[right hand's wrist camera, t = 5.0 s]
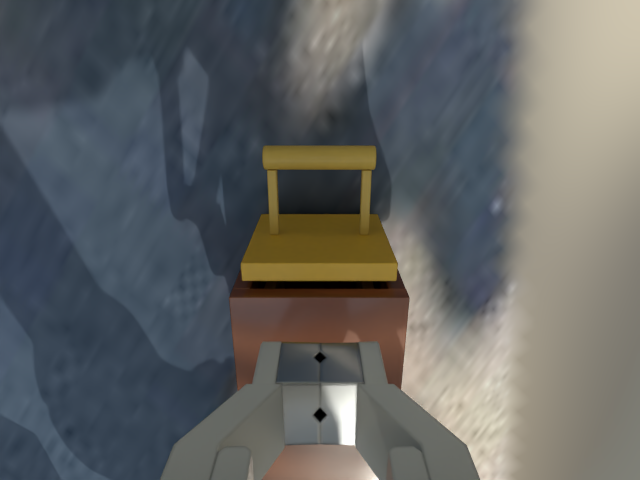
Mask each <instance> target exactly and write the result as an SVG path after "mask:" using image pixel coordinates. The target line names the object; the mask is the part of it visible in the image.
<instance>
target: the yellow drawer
mask: <svg viewBox="0 0 640 480" xmlns="http://www.w3.org/2000/svg"><path fill="white" fill-rule="evenodd" d="M262 159H263V167H264V169H265V170H267V179H268V200H269V214H261V216H260V219H259V221H258V223H257V226H256V228H255V231H254V233H253V235H252V238H251V240H250V243H249V245H248V247H247V250H246V252H245V255H244V257H243V259H242V262H241V274H242V281H266V284H265V287H264V289H374V285H373V281H396V280H397V268H398V263H397V261H396V258H395V256H394V253H393V251H392V248H391V246H390V244H389V241H388V239H387V236H386V234H385V231H384V229H383V227H382V224H381V222H380V219H379V217H378V215H377V214H370V194H371V173H372V171H371V170H373V169H375V166H376V147H375V146H264V147H263V152H262ZM277 170H362V171H361V197H360V214H279V204H278V177H277Z"/></svg>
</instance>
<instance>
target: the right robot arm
mask: <svg viewBox="0 0 640 480" xmlns="http://www.w3.org/2000/svg"><path fill="white" fill-rule="evenodd" d="M316 444H323V445H355V447H356V449H357V450H358V451H359V453H360V454H361V456H362V457H363V458H364V460H365V461H366V463H367V464H368V465H369V467H370V468H371V469H372V471H373V472H374V474H375V475H376V476H377V478H378V479H379V480H480V478H479V475H478V473H477V470H476V468H475V465H474V463H473V460H472V458H471V455H470V453H469V450H468V448H467V445H466V444H464V443H463V442H462V441H461V440H460V439H459V438H457V437H456V436H455V435H454V434H453V433H451V432H450V431H449V430H448V429H447V428H445V427H444V426H443V425H442V424H441V423H440V422H438V421H437V420H436V419H435V418H434V417H432V416H431V415H430V414H429V413H428V412H426V411H425V410H424V409H423V408H422V407H421V406H419V405H418V404H417V403H416V402H415V401H413V400H412V399H411V398H410V397H409V396H407V395H406V394H405V393H404V392H403V391H401V390H400V389H399V388H398V387H397V386H396V385H394V384H388V382H387V377H386V373H385V368H384V364H383V359H382V355H381V351H380V346H379V343H378V342H377V341H369V342H348V343H320V342H262V344H261V346H260V350H259V355H258V359H257V364H256V368H255V373H254V377H253V382H252V384H246V385H244V386H243V387H242V388H241V389H240V390H239V391H237V392H236V393H235V394H234V395H233V396H231V397H230V398H229V399H228V400H227V401H225V402H224V403H223V404H222V405H221V406H219V407H218V408H217V409H216V410H215V411H213V412H212V413H211V414H210V415H209V416H207V417H206V418H205V419H204V420H203V421H201V422H200V423H199V424H198V425H197V426H196V427H194V428H193V429H192V430H191V431H190V432H188V433H187V434H186V435H185V436H184V437H182V438H181V439H180V440H179V441H178V442H176V443H175V444H174V446H173V448H172V451H171V453H170V456H169V458H168V461H167V463H166V466H165V468H164V471H163V473H162V476H161V478H160V480H261V479H262V478H263V477H264V475H265V474H266V473H267V471H268V470H269V468H270V467H271V466H272V464H273V463H274V462H275V460H276V459H277V457H278V456H279V455H280V453H281V452H282V451H283V449H284V448H285V445H316Z"/></svg>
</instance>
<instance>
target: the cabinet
mask: <svg viewBox="0 0 640 480" xmlns="http://www.w3.org/2000/svg"><path fill="white" fill-rule="evenodd" d="M265 284H266V281H242V274H241V269H240V272H239V274H238V277H237V279H236V282H235V284H234V287H233V289H232V292H231V294H230V296H229V303H230V314H231V325H232V336H233V346H234V357H235V368H236V379H237V389H238V391H239V390H240V389H241V388H242V387H243V386H244V385H246V384H252V382H253V377H254V373H255V368H256V364H257V359H258V355H259V350H260V346H261V344H262V342H320V343H348V342H369V341H377V342H378V343H379V346H380V351H381V355H382V359H383V364H384V368H385V373H386V377H387V382H388V384H394V385H396V386H397V387H398V388H399V389H400V390H401V383H402V372H403V362H404V351H405V340H406V329H407V319H408V308H409V296H408V293H407V291H406V289H405V286H404V284H403V281H402V279H401V276H400V274H399V271H398V269H397V280H396V281H373V285H374V289H264V287H265ZM261 480H379V479H378V478H377V476H376V475H375V474H374V472H373V471H372V469H371V468H370V467H369V465H368V464H367V463H366V461H365V460H364V458H363V457H362V456H361V454H360V453H359V451H358V450H357V449H356V447H355V445H323V444H316V445H285V448H284V449H283V451H282V452H281V453H280V455H279V456H278V457H277V459H276V460H275V462H274V463H273V464H272V466H271V467H270V468H269V470H268V471H267V473H266V474H265V475H264V477H263V478H262V479H261Z"/></svg>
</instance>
